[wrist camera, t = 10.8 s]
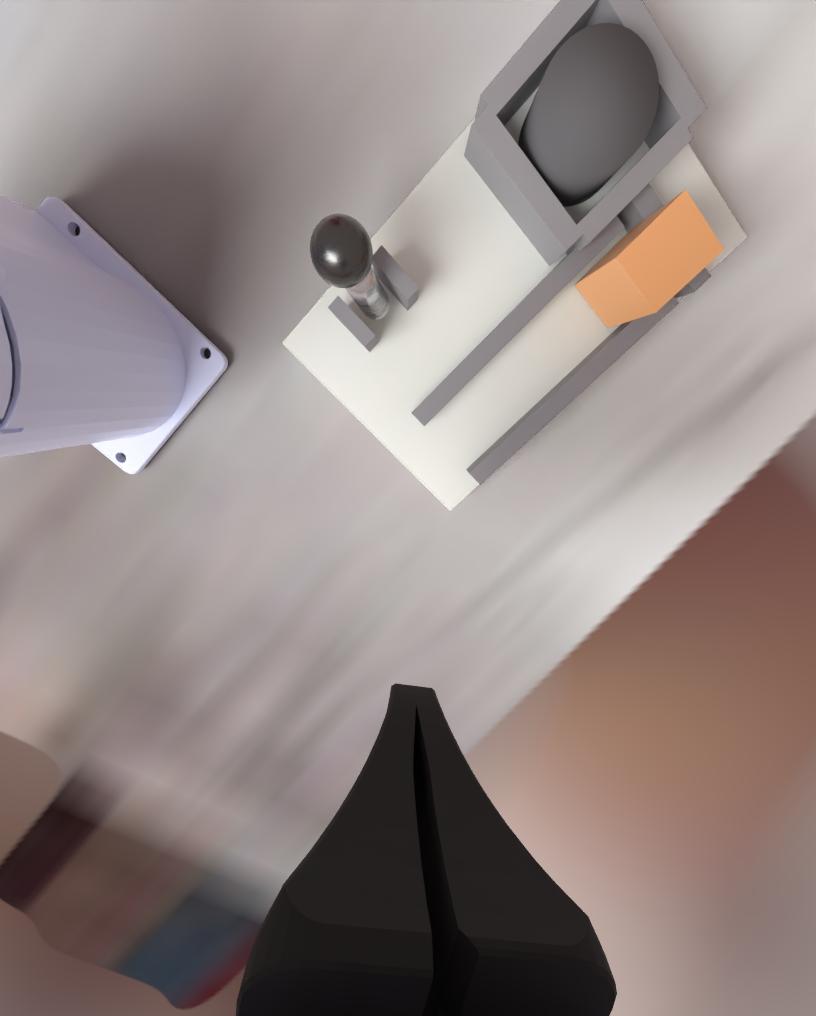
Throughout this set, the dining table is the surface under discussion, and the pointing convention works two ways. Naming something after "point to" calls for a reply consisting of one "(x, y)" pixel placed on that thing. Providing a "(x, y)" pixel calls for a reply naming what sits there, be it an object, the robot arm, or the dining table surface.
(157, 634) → the dining table surface
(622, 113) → the button
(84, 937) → the dining table surface
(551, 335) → the panel
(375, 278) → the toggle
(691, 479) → the dining table surface
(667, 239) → the orange flat-faced block
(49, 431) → the robot arm
